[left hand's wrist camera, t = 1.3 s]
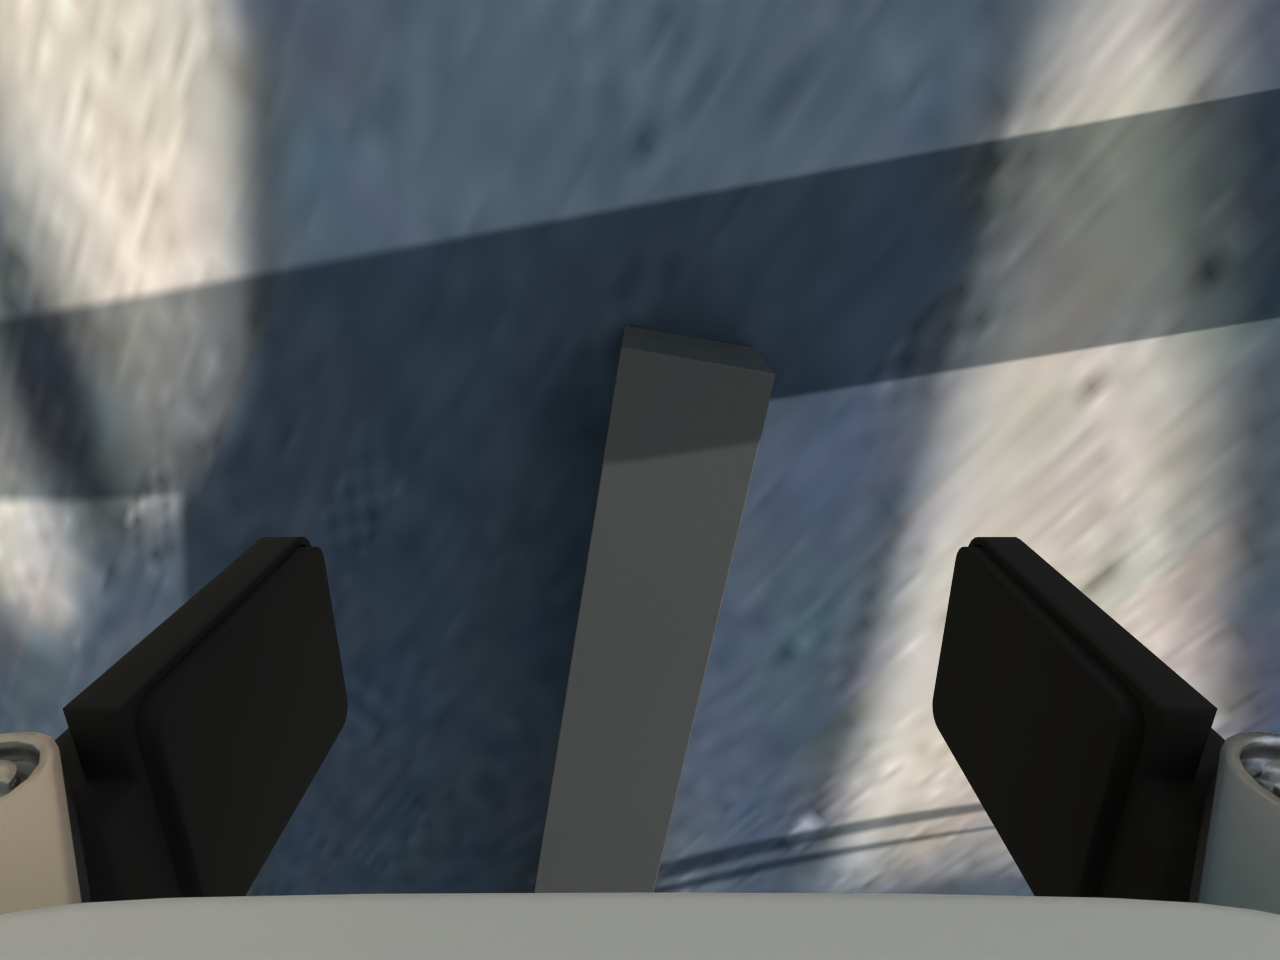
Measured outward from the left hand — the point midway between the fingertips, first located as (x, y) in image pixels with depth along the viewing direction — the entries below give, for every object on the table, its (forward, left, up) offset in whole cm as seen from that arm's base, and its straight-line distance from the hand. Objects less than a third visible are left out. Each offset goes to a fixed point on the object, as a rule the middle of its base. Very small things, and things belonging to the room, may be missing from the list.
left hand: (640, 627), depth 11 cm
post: (-6, +36, -24) cm, 44 cm away
